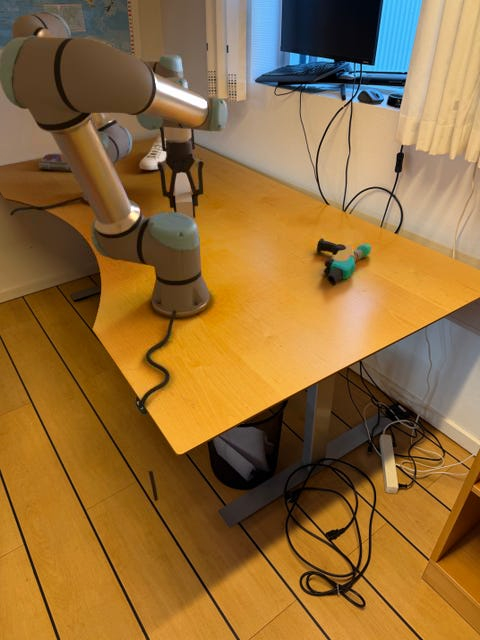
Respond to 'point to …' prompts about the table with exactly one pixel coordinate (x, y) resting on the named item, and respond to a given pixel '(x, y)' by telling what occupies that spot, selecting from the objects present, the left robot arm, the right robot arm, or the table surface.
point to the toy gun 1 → (53, 163)
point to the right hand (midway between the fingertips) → (185, 216)
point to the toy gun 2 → (341, 259)
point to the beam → (183, 195)
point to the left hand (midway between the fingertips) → (180, 168)
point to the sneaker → (154, 156)
